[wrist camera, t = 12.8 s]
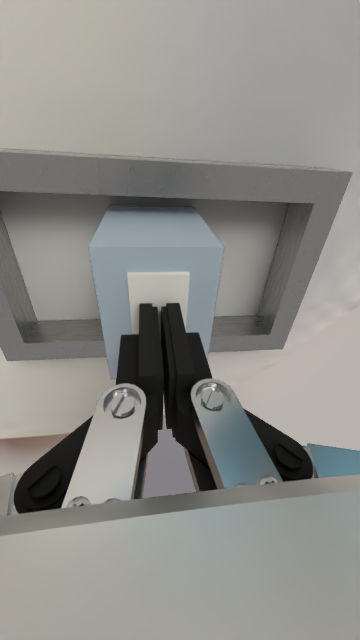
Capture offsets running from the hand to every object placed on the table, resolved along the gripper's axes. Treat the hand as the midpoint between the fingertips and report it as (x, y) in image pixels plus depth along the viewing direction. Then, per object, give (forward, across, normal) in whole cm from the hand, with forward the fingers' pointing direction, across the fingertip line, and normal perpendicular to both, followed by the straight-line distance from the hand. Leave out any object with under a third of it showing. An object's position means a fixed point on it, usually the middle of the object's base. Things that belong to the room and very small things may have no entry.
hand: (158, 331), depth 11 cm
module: (+8, 0, 0) cm, 8 cm away
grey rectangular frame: (+7, 0, 0) cm, 7 cm away
